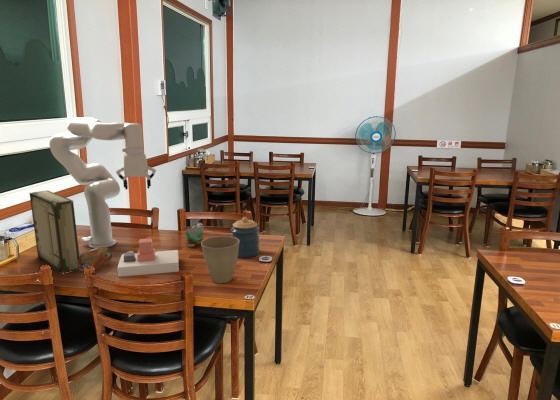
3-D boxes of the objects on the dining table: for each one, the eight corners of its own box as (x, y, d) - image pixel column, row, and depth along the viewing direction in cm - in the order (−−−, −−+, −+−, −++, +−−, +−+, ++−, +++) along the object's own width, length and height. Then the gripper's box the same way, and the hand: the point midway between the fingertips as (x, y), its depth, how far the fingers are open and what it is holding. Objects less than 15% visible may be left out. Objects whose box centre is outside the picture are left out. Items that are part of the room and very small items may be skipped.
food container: (199, 249, 210) (198, 229, 208) (186, 248, 212) (185, 228, 209) (208, 241, 222) (207, 222, 220) (196, 240, 223) (195, 221, 221)
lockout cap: (137, 261, 183) (136, 243, 181) (139, 256, 190) (137, 238, 188) (154, 260, 185) (153, 242, 183) (155, 255, 191) (154, 237, 189)
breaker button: (124, 266, 184) (123, 256, 183) (125, 263, 188) (124, 253, 187) (134, 265, 185) (133, 255, 184) (135, 262, 188) (134, 252, 187)
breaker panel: (118, 276, 178) (116, 263, 177) (122, 262, 193) (121, 250, 192) (178, 271, 183) (178, 258, 182) (178, 258, 199) (177, 246, 197)
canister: (225, 253, 204) (224, 217, 200) (246, 247, 213) (245, 211, 209) (244, 260, 195) (244, 222, 192) (265, 253, 205) (264, 216, 201)
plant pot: (212, 271, 184) (211, 234, 180) (245, 274, 180) (245, 237, 176) (196, 285, 170) (194, 245, 166) (231, 289, 166) (230, 249, 162)
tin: (82, 274, 181) (80, 254, 179) (77, 272, 183) (75, 253, 181) (113, 263, 193) (111, 244, 192) (108, 261, 195) (106, 243, 193)
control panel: (80, 269, 186) (73, 200, 179) (62, 274, 181) (53, 203, 174) (55, 252, 206) (47, 190, 200) (38, 256, 201) (29, 192, 195)
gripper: (113, 152, 192) (116, 191, 196) (154, 151, 196) (156, 189, 200) (115, 150, 199) (118, 187, 203) (155, 149, 203) (157, 186, 207)
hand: (137, 188), depth 201 cm, fingers open, 9 cm apart
